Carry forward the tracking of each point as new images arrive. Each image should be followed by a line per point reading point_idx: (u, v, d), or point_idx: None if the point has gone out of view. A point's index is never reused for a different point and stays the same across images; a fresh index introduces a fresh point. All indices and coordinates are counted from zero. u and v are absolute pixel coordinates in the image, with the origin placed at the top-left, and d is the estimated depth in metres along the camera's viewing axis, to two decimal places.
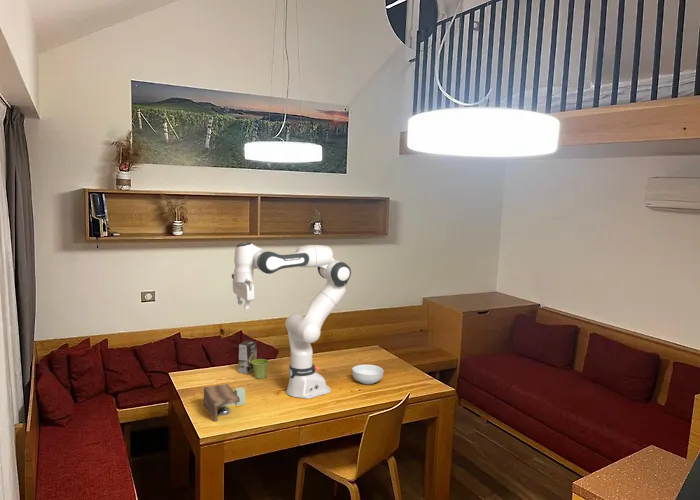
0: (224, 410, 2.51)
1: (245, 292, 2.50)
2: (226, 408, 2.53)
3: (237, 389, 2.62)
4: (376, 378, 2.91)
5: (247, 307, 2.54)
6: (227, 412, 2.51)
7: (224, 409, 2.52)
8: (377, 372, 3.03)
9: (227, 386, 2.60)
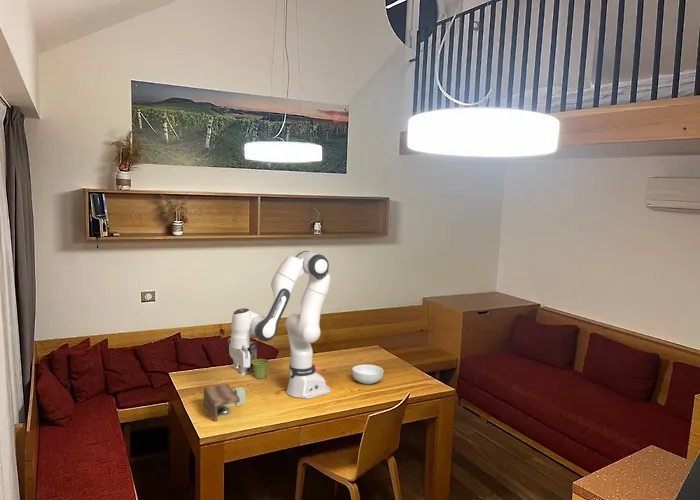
0: (224, 410, 2.51)
1: (241, 359, 2.53)
2: (226, 408, 2.53)
3: (237, 389, 2.62)
4: (376, 378, 2.91)
5: (243, 373, 2.57)
6: (227, 412, 2.51)
7: (224, 409, 2.52)
8: (377, 372, 3.03)
9: (227, 386, 2.60)
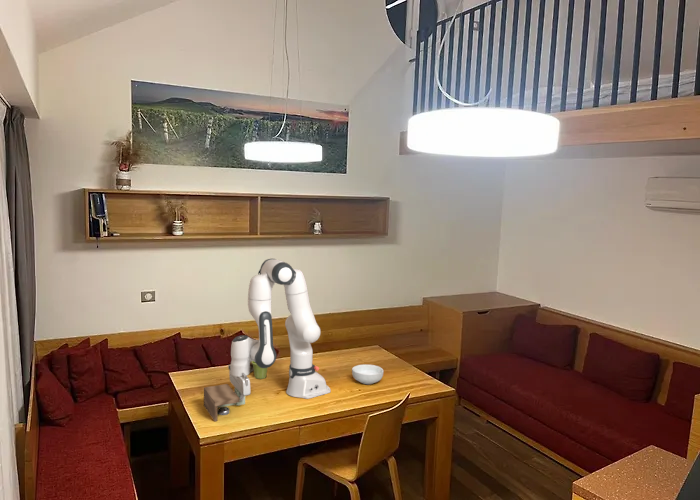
0: (224, 410, 2.51)
1: (241, 387, 2.55)
2: (226, 408, 2.53)
3: None
4: (376, 378, 2.91)
5: (242, 399, 2.61)
6: (227, 412, 2.51)
7: (224, 409, 2.52)
8: (377, 372, 3.03)
9: (227, 386, 2.60)
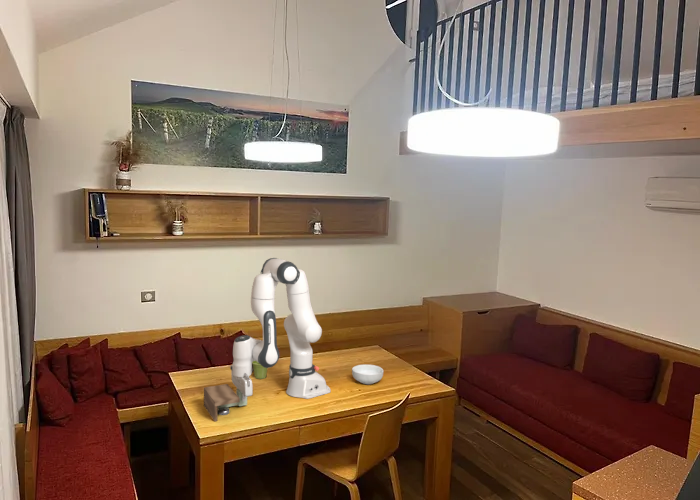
0: (224, 410, 2.51)
1: (243, 387, 2.52)
2: (226, 408, 2.53)
3: (239, 390, 2.60)
4: (376, 378, 2.91)
5: (244, 399, 2.58)
6: (227, 412, 2.51)
7: (224, 409, 2.52)
8: (377, 372, 3.03)
9: (227, 386, 2.60)
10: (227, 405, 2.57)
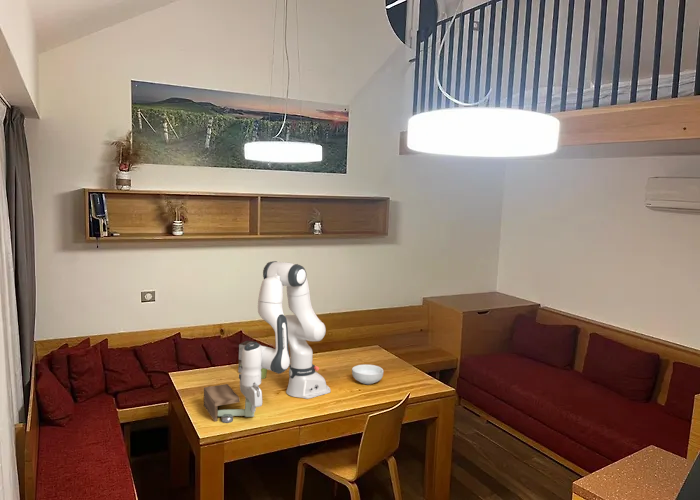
0: (227, 417, 2.43)
1: (253, 398, 2.41)
2: (230, 415, 2.45)
3: (247, 400, 2.49)
4: (376, 378, 2.91)
5: (253, 410, 2.47)
6: (230, 419, 2.43)
7: (228, 417, 2.44)
8: (377, 372, 3.03)
9: (227, 386, 2.60)
10: (233, 414, 2.48)
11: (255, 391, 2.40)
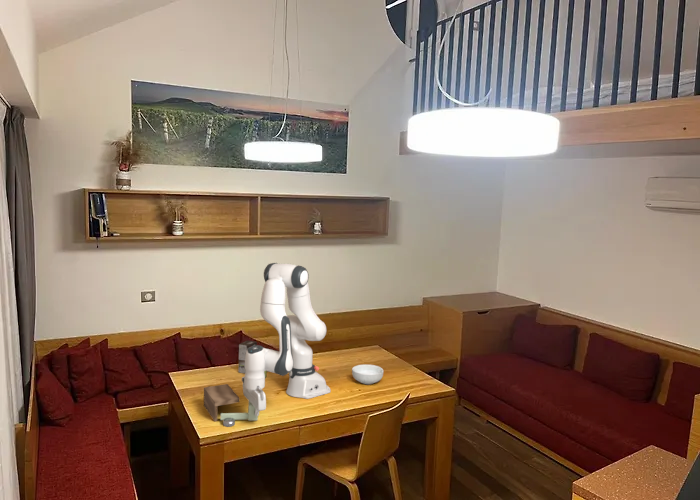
0: (228, 421, 2.40)
1: (256, 401, 2.38)
2: (232, 419, 2.42)
3: (250, 403, 2.45)
4: (376, 378, 2.91)
5: (257, 414, 2.43)
6: (231, 424, 2.39)
7: (229, 420, 2.40)
8: (377, 372, 3.03)
9: (227, 386, 2.60)
10: (236, 417, 2.44)
11: (259, 394, 2.37)
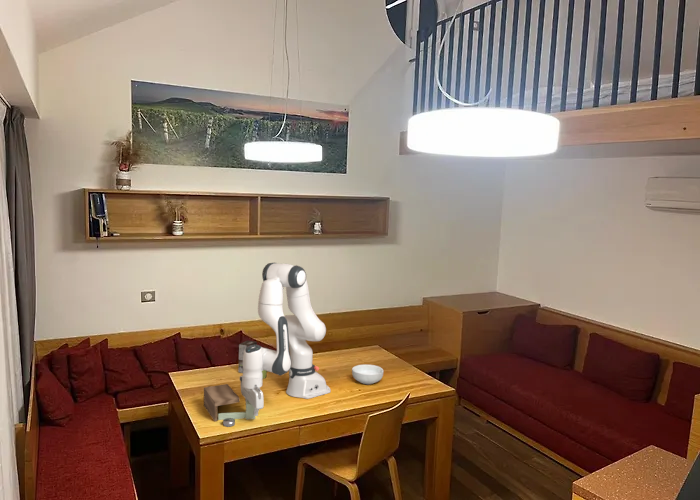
0: (228, 421, 2.40)
1: (254, 400, 2.40)
2: (232, 420, 2.42)
3: (248, 402, 2.48)
4: (376, 378, 2.91)
5: (256, 414, 2.44)
6: (231, 424, 2.39)
7: (229, 421, 2.40)
8: (377, 372, 3.03)
9: (227, 386, 2.60)
10: (234, 417, 2.47)
11: (256, 393, 2.39)
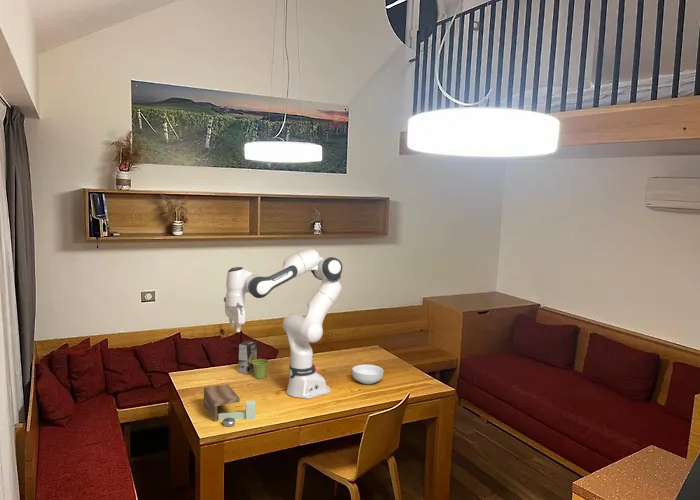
0: (227, 421, 2.40)
1: (236, 316, 2.58)
2: (232, 420, 2.41)
3: (248, 402, 2.48)
4: (376, 378, 2.91)
5: (238, 330, 2.62)
6: (229, 424, 2.39)
7: (229, 421, 2.40)
8: (377, 372, 3.03)
9: (227, 386, 2.60)
10: (234, 417, 2.47)
11: (238, 309, 2.57)
